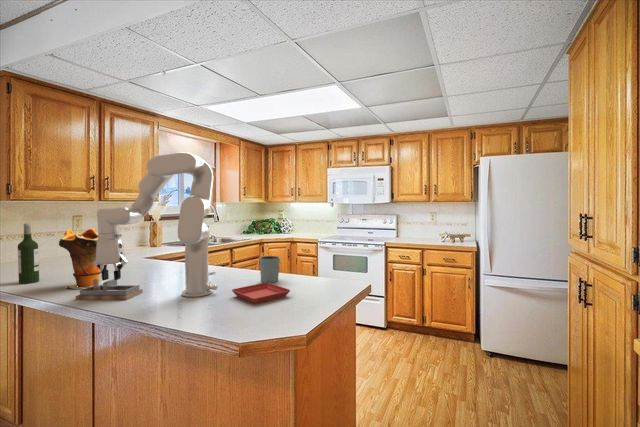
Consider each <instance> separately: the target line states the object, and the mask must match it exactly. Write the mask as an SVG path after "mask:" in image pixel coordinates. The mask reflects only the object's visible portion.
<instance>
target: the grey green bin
mask: <svg viewBox="0 0 640 427" xmlns="http://www.w3.org/2000/svg"><path fill="white" fill-rule="evenodd" d="M280 259H281V257H280V256H278V255H264V256H260V257H259V269H260V270H259V271H260V272H259V273H260V282H261V283H270V284H273V283H277V282H278V281H279V274H280V272H279V271H280V263H281V260H280Z"/></svg>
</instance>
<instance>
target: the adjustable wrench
mask: <svg viewBox="0 0 640 427" xmlns="http://www.w3.org/2000/svg"><path fill="white" fill-rule="evenodd" d="M216 274H217V271H216V270H213V271H209V276H212V275H216Z"/></svg>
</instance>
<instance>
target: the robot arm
mask: <svg viewBox="0 0 640 427" xmlns="http://www.w3.org/2000/svg"><path fill="white" fill-rule="evenodd" d="M146 171H147V173H146V174H145V175H144V177H142V179H141V180H140V181H139V182H138V185H137V188H138V191H139V193H138V196H137V197H136V199H135V200H134V201H133V203H132V204H131V205H130V206H121V207H120V206H119V207H116V208H115V207H103V208H98V209H97V211H96V216H97V219H96V220H97V234H98V239H99V241H97V247H96V260H95V261H94V263H93V264H94V265H96V266H97V267H98V268H99V269H100V271H101V273H100V274H101V281H108V280H109V278H110V277H109V270H108V265H113V268H114V271H113V279H114V280H117V281H118V280H120V279H121V278H122V276H121V275H122V274H121V273H122V272H121V270H122V269H123V267H125V265H126V264H128V260H127V259H126V255H125V248H124V247H125V246H124V243H123V240H122V239H120V238H121V237H122V234H121V233H120V228H119V227H120V226H126V225H133V224H137V223H139V222H141V221H142V220H143V219H144V218H145V216H146V215H147V213H149V211H151V209H152V207H153V206H154V202H156V199H157V197H158V195H159V194H160V192H161V191H162V190H163V189H164V187H165V186H166V185H167V184H168V183H169V182H170V180H171V179H172V177H173V176H175V175H179V174H180V175H181V174H187V175H191V176H192V182H191V186H190V187H191V188H190V195H189V196H187V197H186V198H185V199H183V200H182V202H181V205H180V208H179V217H178V224H177V238H178V240H179V241H180V242H181V243H182V244H183V245H185V247H184V248H185V249H184V267H185V268H184V269H185V270H184V271H185V272H184V273H185V274H184V275H185V279H184V281H185V289H184V290H182V291H181V295H182V296H183V297H185V298H197V297H205V296H209V295H210V294H212V293H213V292H214V291H217V290H218V288H219V285H217V284H212V281H210V279H209V277H210V275H209V272H210V271H209V242H210V239H209V238H210V231H209V230H210V229H209V227H208V226H207V224H206V223H204V219H205V218H204V217H206V216H208V215H209V212H210V211H211V201H212V192H213V184H214V174H213V170H212V168H211V166H210V165H209V163H208V162H207V161H205V160H204V159H202V158H201V157H200V156H198V155H196V154H193V153H191V152H186V151H185V152H181V151H180V152H177V153H176V152H175V153H169V154H162V155H155V156H153V157H151V158H150V159H149V160H148V161H147V163H146Z"/></svg>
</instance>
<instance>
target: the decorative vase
mask: <svg viewBox="0 0 640 427" xmlns="http://www.w3.org/2000/svg"><path fill="white" fill-rule="evenodd" d="M97 241H99V239H98V232H97V231H96V229H95V228H94V227H93V228H88V229H86V230H85V231H84V232H81V233H80V232H79V233H78V232H76V233H75V232H74V231H73V230H71V229H67V230H66V231H65V233H64V235H63V236H62V238H60V239H59V241H58V246H59V247H60V248H62V249H64V250H66V251H68V252H69V257H70V258H71V265H72V270H73V273H72V275H73V277H74V279H75V283H72V284H69V285H66V286H65V287H64V288H65V289H72V290H83V289H86V288H89V287H92V286H93V280H94V279H95V278H98V279H99V280H100V277H101V274H102V273H101V271H100V269H99V268H98V267H97V266H96V265H94V264H93V263H94V261H95V260H96V247H97ZM106 281H107V280H100V282H102V283H101V284H100V285H103V283H104V282H106ZM77 286H78V287H77Z"/></svg>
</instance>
